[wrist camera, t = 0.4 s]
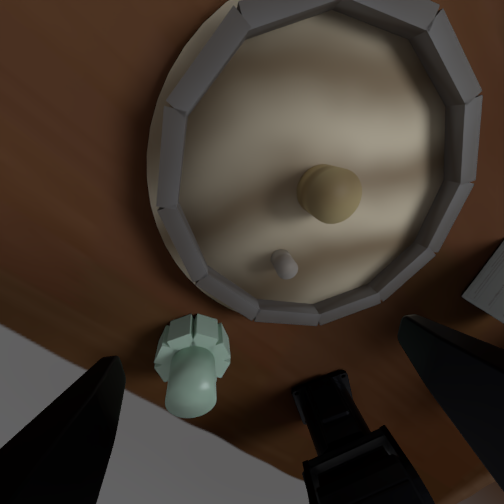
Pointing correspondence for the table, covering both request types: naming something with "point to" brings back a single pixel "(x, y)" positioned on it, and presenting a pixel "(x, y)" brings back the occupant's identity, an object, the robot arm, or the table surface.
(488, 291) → the supplement box
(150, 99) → the table surface
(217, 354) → the pale green domed piece
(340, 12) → the carrier plate
